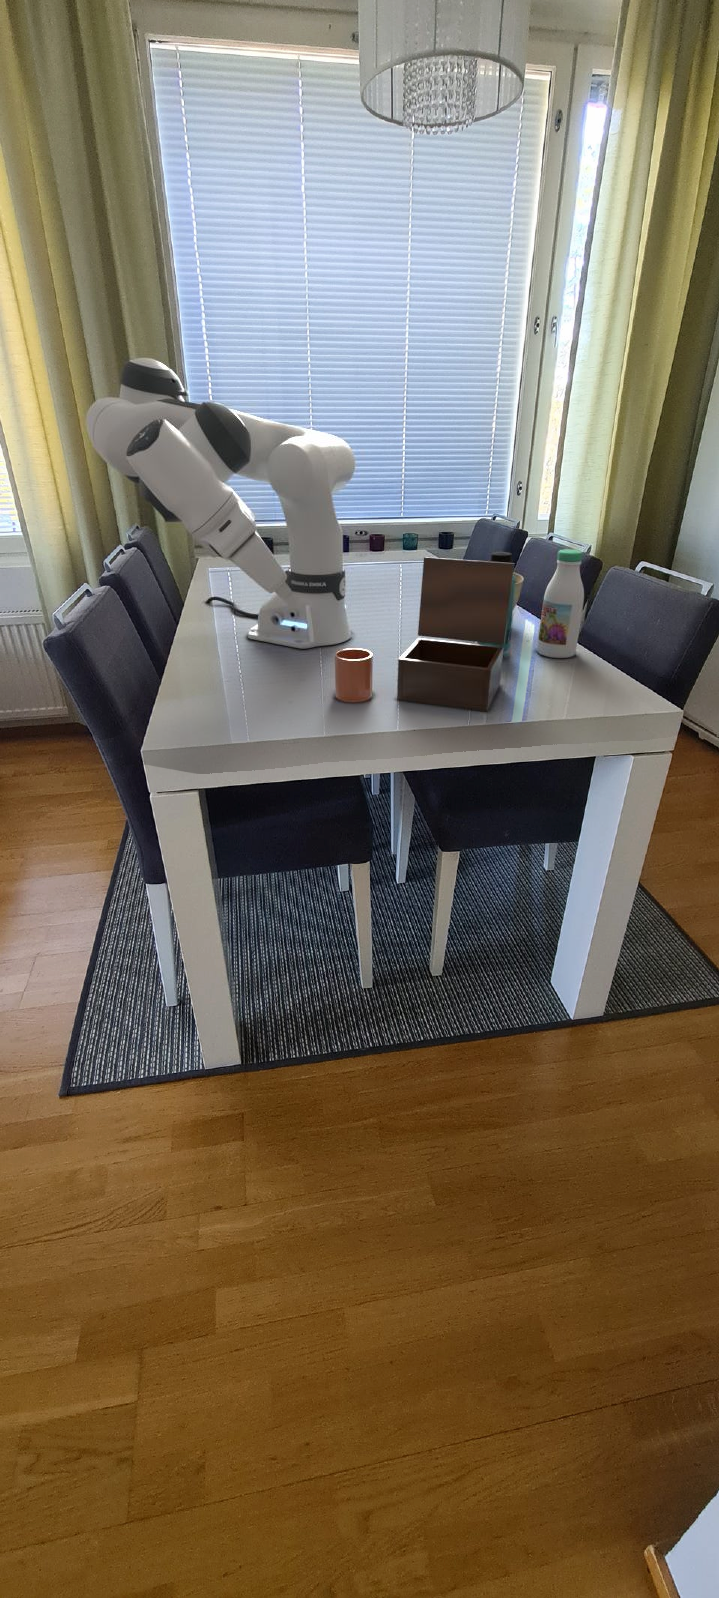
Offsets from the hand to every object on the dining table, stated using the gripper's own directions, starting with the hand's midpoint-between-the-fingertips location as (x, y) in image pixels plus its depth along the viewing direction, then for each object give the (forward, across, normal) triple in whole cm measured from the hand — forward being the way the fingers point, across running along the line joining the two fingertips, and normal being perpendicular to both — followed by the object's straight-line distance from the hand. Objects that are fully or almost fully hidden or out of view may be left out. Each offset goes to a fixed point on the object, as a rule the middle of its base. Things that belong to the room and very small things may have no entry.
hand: (288, 597), depth 109 cm
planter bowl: (+46, -35, +29) cm, 64 cm away
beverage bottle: (+41, -14, +23) cm, 49 cm away
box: (+31, +2, +10) cm, 33 cm away
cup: (+21, -1, -3) cm, 21 cm away
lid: (+23, -3, +22) cm, 32 cm away
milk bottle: (+50, -12, +33) cm, 61 cm away
